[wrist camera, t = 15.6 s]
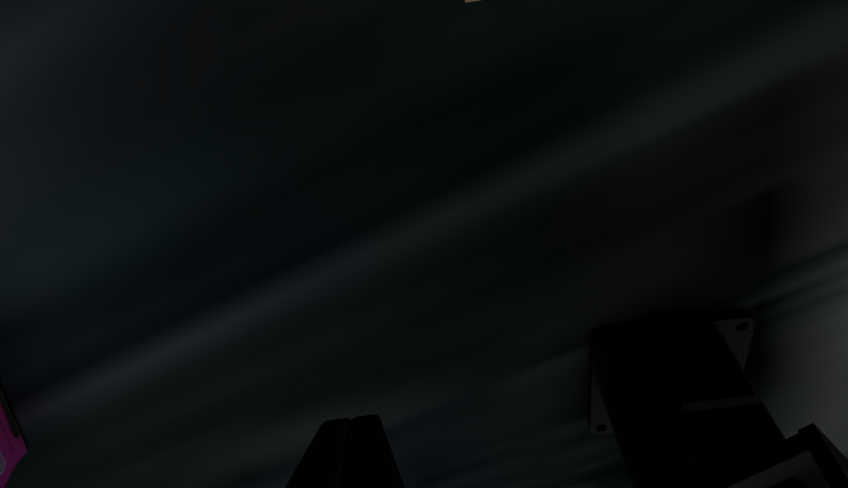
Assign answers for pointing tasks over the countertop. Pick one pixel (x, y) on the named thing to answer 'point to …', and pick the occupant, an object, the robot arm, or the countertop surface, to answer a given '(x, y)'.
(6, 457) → the candy bar box
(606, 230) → the countertop surface
